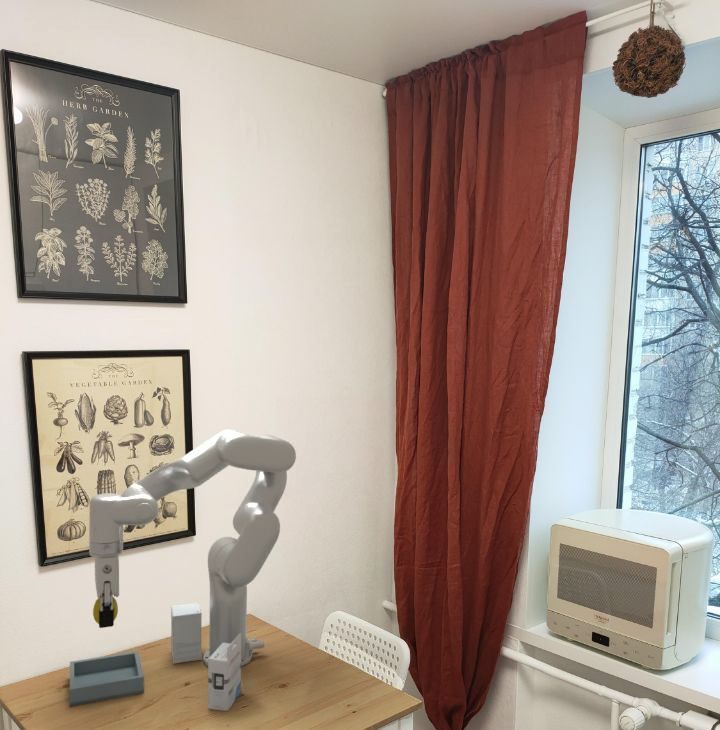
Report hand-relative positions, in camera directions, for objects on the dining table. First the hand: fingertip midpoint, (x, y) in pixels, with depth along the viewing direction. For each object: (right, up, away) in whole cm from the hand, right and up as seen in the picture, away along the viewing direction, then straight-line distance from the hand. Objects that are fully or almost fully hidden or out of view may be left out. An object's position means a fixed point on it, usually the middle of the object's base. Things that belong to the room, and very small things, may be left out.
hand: (105, 620), depth 162 cm
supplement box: (+15, -16, +16) cm, 27 cm away
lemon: (0, -2, 0) cm, 2 cm away
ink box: (+29, -17, -5) cm, 34 cm away
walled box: (0, -16, +1) cm, 16 cm away
